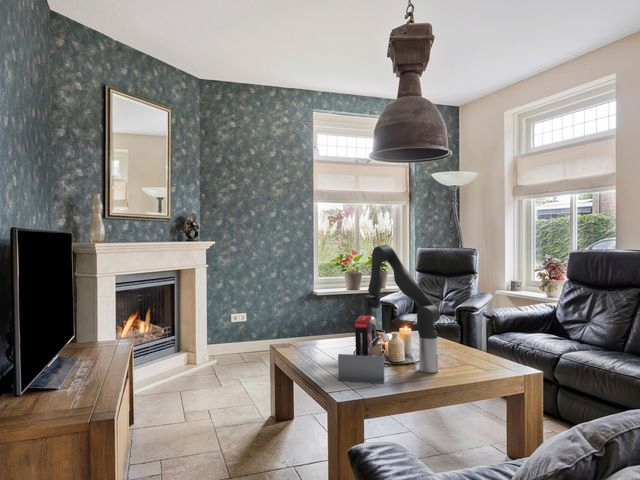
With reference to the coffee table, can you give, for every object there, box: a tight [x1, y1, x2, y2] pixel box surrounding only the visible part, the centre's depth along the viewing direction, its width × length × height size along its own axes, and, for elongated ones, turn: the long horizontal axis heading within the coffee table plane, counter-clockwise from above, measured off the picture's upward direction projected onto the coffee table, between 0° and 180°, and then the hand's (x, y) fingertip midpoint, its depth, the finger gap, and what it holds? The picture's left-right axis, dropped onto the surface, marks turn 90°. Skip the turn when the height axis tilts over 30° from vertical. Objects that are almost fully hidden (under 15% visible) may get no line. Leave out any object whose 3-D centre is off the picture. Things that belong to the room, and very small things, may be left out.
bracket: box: [336, 353, 385, 385], centre depth 228 cm, size 22×14×12 cm, turn 78°
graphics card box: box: [354, 315, 373, 356], centre depth 240 cm, size 17×7×27 cm, turn 167°
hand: (366, 353), depth 249 cm, fingers closed
